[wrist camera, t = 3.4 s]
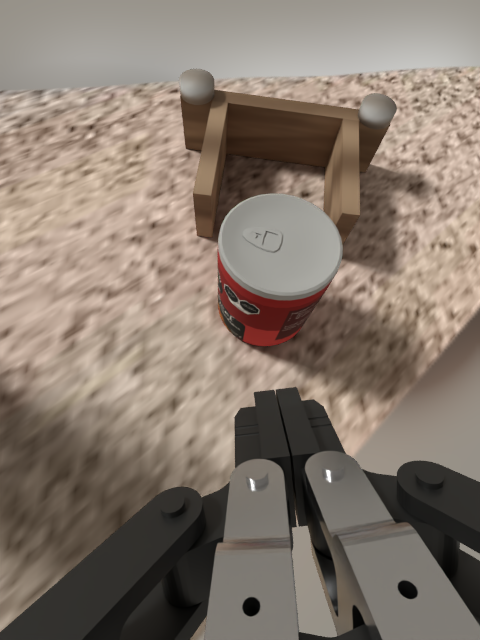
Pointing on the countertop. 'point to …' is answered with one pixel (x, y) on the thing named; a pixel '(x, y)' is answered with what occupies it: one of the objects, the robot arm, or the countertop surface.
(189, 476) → the countertop surface
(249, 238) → the canned food
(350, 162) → the bracket
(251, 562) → the robot arm
